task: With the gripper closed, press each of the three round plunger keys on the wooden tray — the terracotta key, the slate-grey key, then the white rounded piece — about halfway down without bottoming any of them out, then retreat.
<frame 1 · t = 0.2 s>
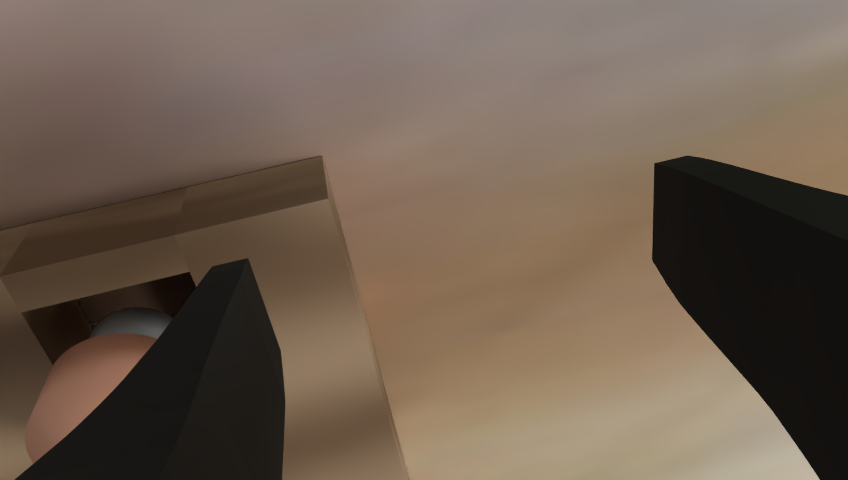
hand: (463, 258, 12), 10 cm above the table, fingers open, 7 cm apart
terracotta key: (128, 390, 18), point 5 cm above the table, slide at 0.0 cm
wooden tray: (209, 414, 25), on the table
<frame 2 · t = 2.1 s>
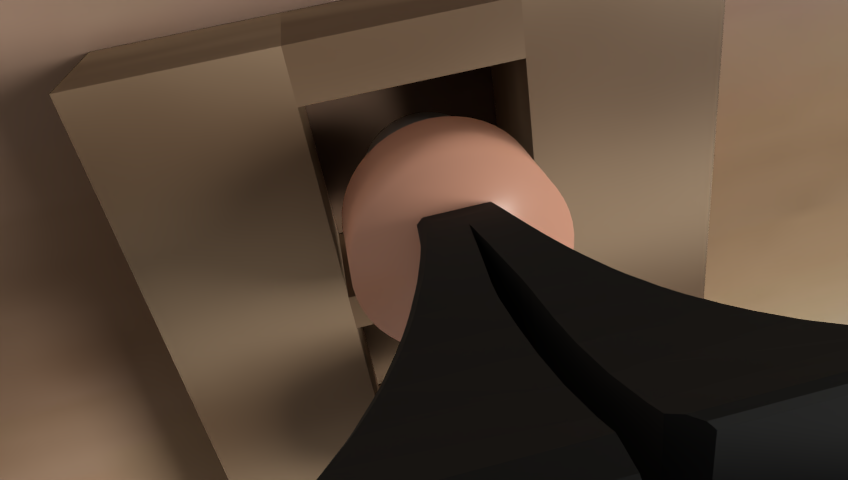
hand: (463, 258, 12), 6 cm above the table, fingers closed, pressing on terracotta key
terracotta key: (442, 211, 13), point 4 cm above the table, slide at 0.3 cm, touching gripper
wooden tray: (439, 308, 20), on the table
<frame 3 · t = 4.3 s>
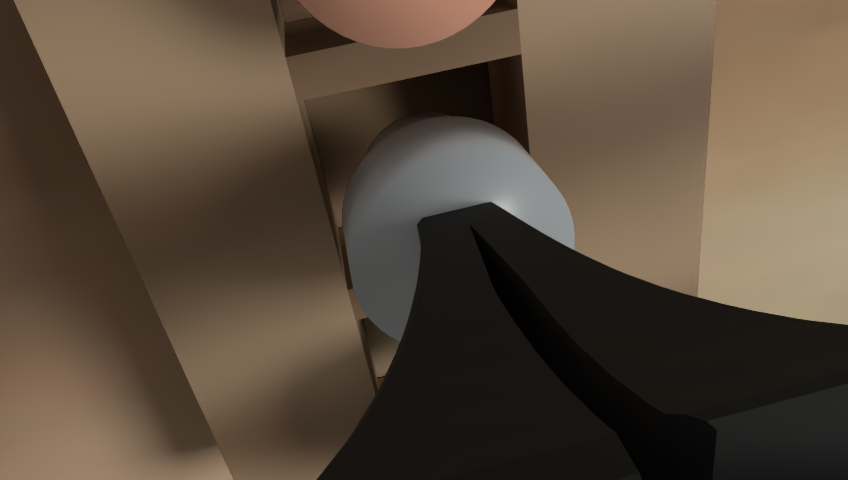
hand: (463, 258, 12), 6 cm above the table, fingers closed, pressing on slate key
wooden tray: (406, 131, 17), on the table
slate key: (442, 211, 13), point 4 cm above the table, slide at 0.0 cm, touching gripper
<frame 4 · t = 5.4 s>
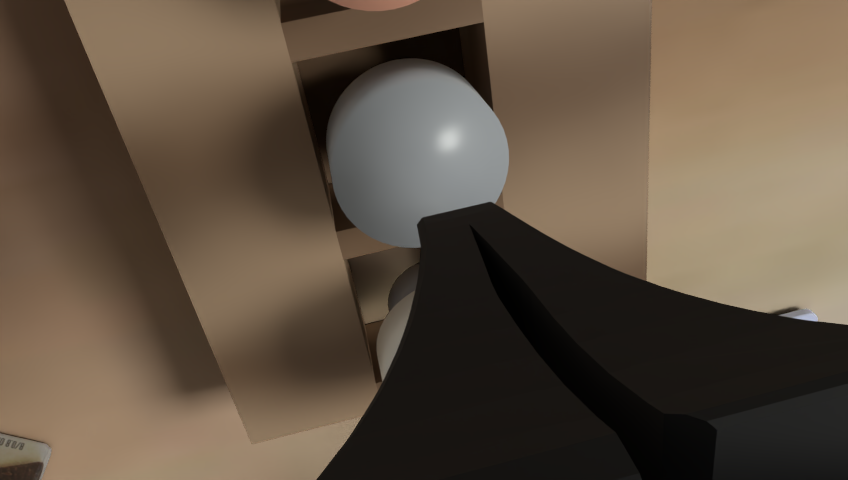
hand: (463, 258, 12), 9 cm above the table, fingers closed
wooden tray: (388, 96, 19), on the table
white rounded piece: (448, 338, 18), point 4 cm above the table, slide at 0.0 cm
slate key: (407, 138, 17), point 3 cm above the table, slide at 1.1 cm
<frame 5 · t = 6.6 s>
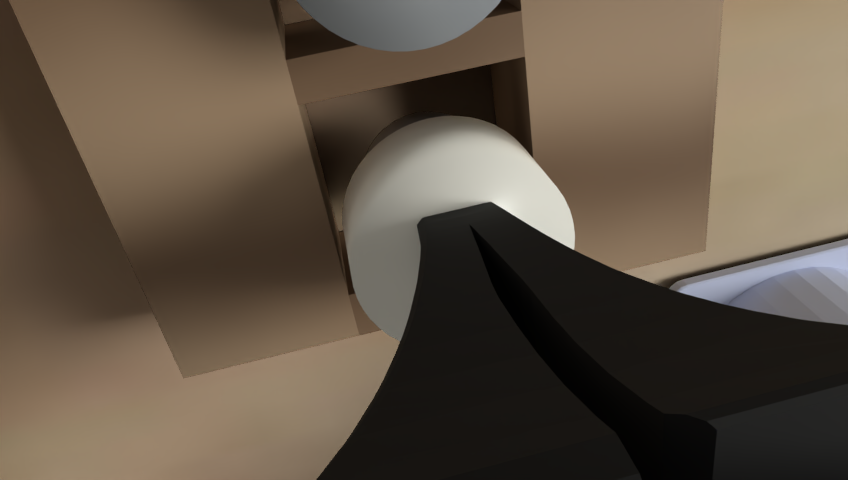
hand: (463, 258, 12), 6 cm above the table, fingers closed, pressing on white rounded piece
white rounded piece: (442, 210, 13), point 4 cm above the table, slide at 0.2 cm, touching gripper
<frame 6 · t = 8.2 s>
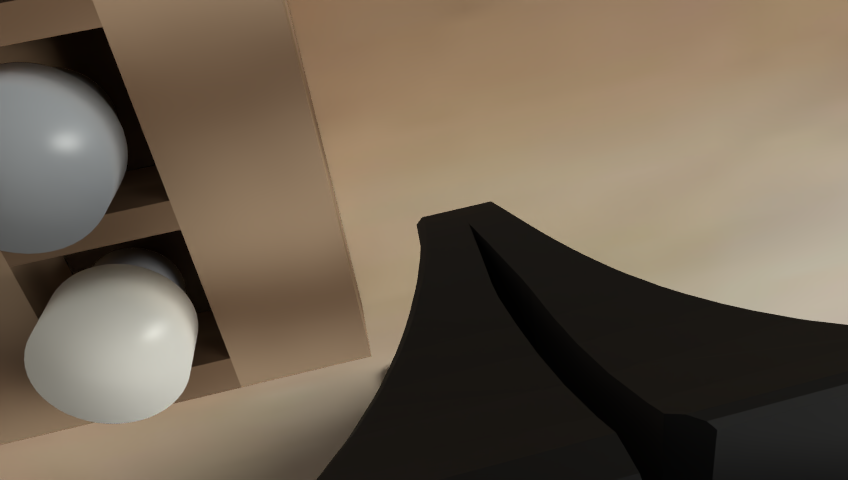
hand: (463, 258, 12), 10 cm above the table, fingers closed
wooden tray: (77, 103, 19), on the table
white rounded piece: (124, 323, 19), point 3 cm above the table, slide at 1.1 cm
slate key: (40, 143, 16), point 3 cm above the table, slide at 1.1 cm
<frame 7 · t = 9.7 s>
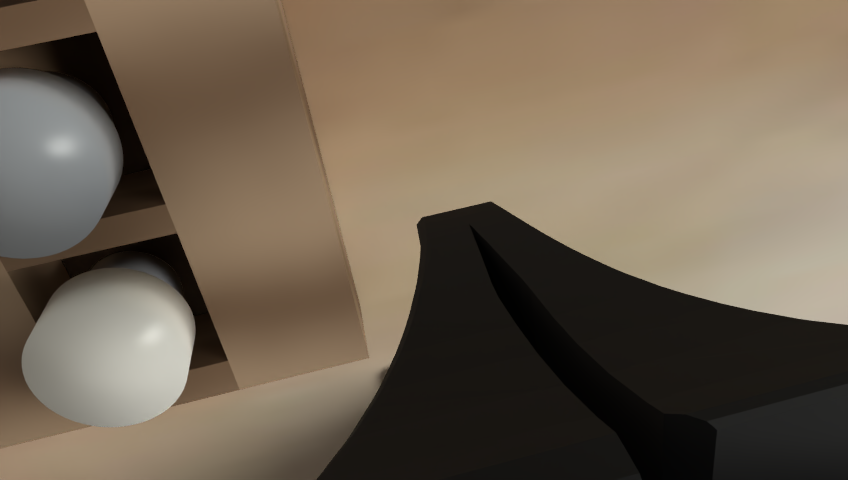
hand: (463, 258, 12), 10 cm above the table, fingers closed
wooden tray: (73, 107, 19), on the table
white rounded piece: (122, 326, 19), point 3 cm above the table, slide at 1.1 cm
slate key: (35, 148, 16), point 3 cm above the table, slide at 1.1 cm
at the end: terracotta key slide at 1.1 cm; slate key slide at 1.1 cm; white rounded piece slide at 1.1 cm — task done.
